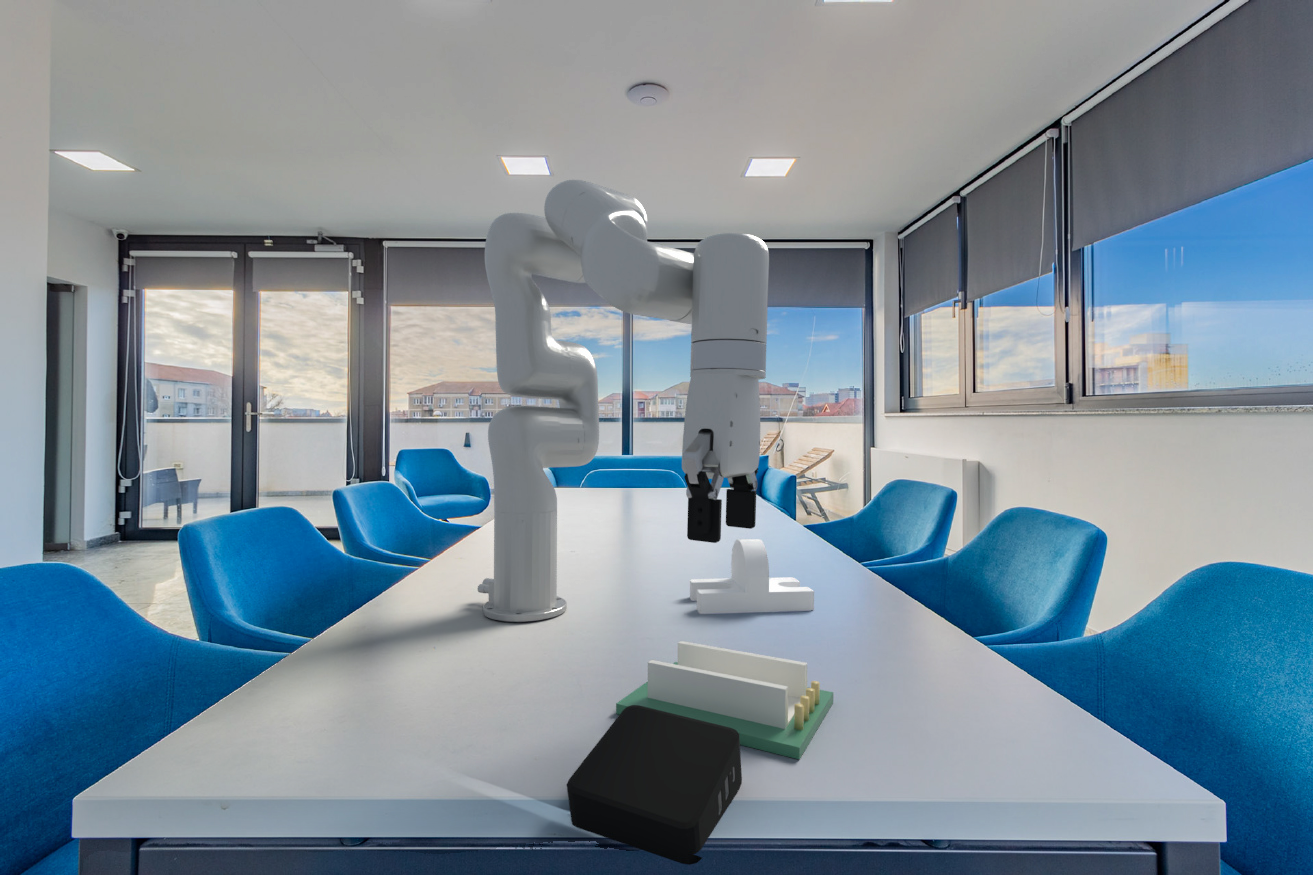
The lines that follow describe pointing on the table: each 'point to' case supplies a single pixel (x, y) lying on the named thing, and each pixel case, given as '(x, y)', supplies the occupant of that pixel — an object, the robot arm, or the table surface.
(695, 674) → the board
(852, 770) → the table surface
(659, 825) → the electronic device
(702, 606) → the white bracket
